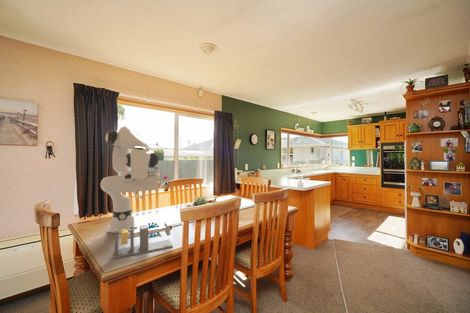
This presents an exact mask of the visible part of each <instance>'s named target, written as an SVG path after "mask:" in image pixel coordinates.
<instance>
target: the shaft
mask: <svg viewBox="0 0 470 313" xmlns="http://www.w3.org/2000/svg"><path fill="white" fill-rule="evenodd" d="M171 230H173V226H172V225H171V224H170V222H169V221H168V220H167V221H164V226H161V227H160V226H159V227H156V228H152V229H148V234H149V235H151V234H150V233H153V234H154V233H155V234H157V232H159V233H160V232H161V233H162V232H165V234H166V236H168V237H169V236H171ZM127 235H128V238H130V237H131V234H130V231H128V232H127ZM137 236H140V230H135V231H134V237H137ZM118 240H121V233H118Z"/></svg>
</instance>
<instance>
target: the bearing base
mask: <svg viewBox="0 0 470 313" xmlns="http://www.w3.org/2000/svg"><path fill="white" fill-rule="evenodd" d="M148 227H149V225H148V224H143V225H139V231H140V235H139V244H138V245H134V244H135V241H134V240H135V239H134V237H135V236H134V229H133V226H130V231H129V232H130V234H131V237H129V240H130V242H129V243H130V244H129V245H130V246H127V247H123V248H119V233H118V227H117V228H115V233H114V251H113V260H118V259H122V258H128V257H134V256H137V255H143V254H146V253H152V252H156V251H157V252H158V251H162V250H166V249H170V248H174V247H173V243H172V242H171V240H170V239H164V240H158V241H155V242H149V235H148Z"/></svg>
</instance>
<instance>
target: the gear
mask: <svg viewBox="0 0 470 313" xmlns="http://www.w3.org/2000/svg"><path fill="white" fill-rule="evenodd" d="M147 226H148V229H152V228H158V227H160V225H159V224H158V223H157V222H155V223H154V222H149V223H147ZM159 233H160V232H156V233H150V234H148V236H149V237H150V238H152V237H156V235H158V234H159Z"/></svg>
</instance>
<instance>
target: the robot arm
mask: <svg viewBox="0 0 470 313" xmlns="http://www.w3.org/2000/svg"><path fill="white" fill-rule="evenodd" d="M104 139H105V142H106V143H107V145H109V146H114V147H113V148H112V149H113V150H112V156H111V157H112V158H111V160H112V162H111V163H112V169H113V170H114V171H115V172H116V173H118V174H120V175H110V176H106V177H103V178H102V180H101V181H100V188H101V190H102V191H103V192H105V193H106V194H108V196H110V198H111V200H112V205H113V207H112V208H113V210H112V218H111V219H110V221H109V222H110V223H109V224H110V225H109V228H108V229H107V231H106V232H107V233H112V234H115V228H117V227H118V234H121V229H126V228H127V232H130V226H133V229H137V228H138V226H137V225H136V224H135V217H134V215H132V214H133V213H132V212H133V210H132V205H131V204H132V201H131V197H129V196H127V195H125V194H123V193H130V192H131V193H132V192H133V196H135V200H138V199H139V195H137V192H142V194H140V200H141V199H144V198H145V197H144V196H145V194H146V192H147V191H155V190H158V189H159V183H158V182H159V175H158V174H156V173H152V174H151V173H149V172H148V170H149V169H154V168H156V166H157V165H158V164H159V156H158V154H157V153H156V152H154V151H153V150H152V147H150V146H149V144H148V143H147V142H146V141H145V140H143V139H142V138H140V137H139V135H138V134H137V133H136V132H135V131H134V129H133V128H132V127H130V126H128V125H125V126H122V127H120V128H119V130H109V131H107V133H106V134H105V138H104ZM129 150H131V151H130V152H129Z"/></svg>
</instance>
